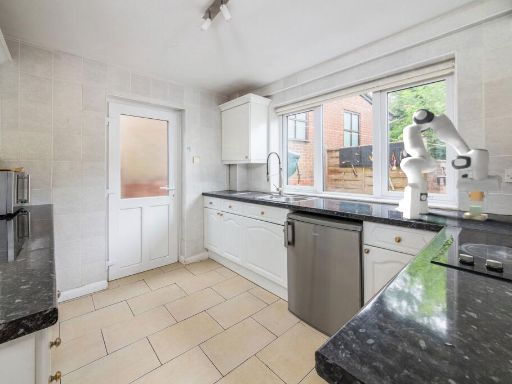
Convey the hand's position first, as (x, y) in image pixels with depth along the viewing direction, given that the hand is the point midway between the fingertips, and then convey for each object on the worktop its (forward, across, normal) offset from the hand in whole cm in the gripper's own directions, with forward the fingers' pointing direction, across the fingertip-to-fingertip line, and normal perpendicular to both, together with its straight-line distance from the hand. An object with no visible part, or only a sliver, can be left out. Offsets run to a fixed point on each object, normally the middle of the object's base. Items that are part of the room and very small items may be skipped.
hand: (476, 197), depth 152 cm
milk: (+13, +26, +30) cm, 42 cm away
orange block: (+2, 0, 0) cm, 2 cm away
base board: (+13, 0, 0) cm, 13 cm away
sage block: (+10, 0, 0) cm, 10 cm away
